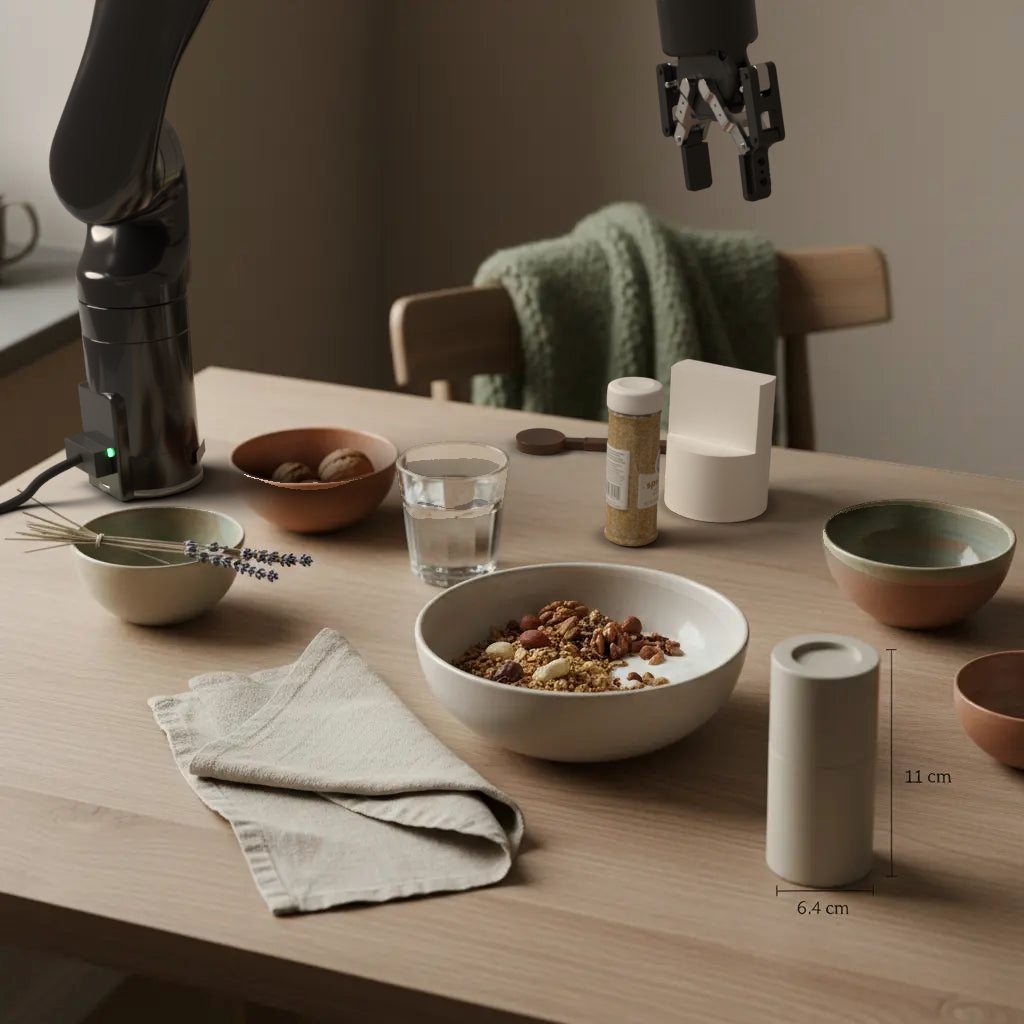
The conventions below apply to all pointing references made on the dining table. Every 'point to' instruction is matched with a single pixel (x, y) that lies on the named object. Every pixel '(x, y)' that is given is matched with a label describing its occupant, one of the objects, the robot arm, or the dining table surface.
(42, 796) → the dining table surface
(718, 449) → the base with upright slab
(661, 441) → the spoon
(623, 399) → the spice jar
